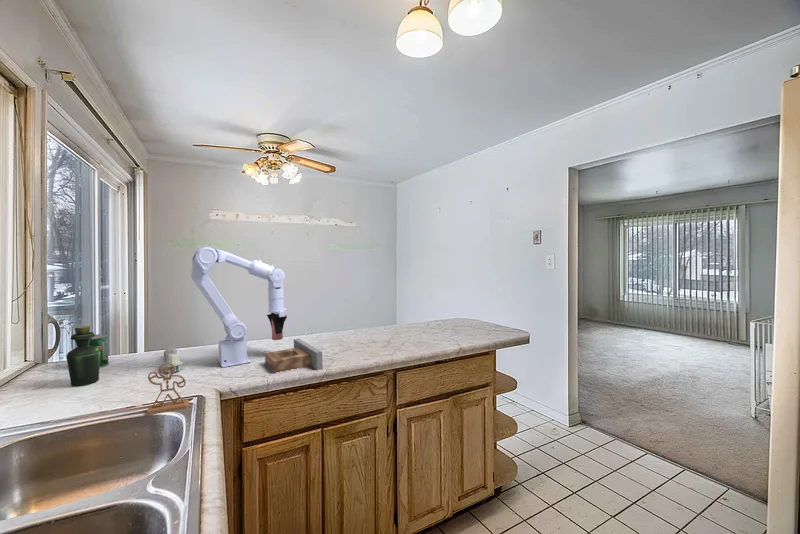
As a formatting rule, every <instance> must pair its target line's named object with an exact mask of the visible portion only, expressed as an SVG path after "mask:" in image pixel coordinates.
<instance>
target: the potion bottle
mask: <svg viewBox="0 0 800 534" xmlns="http://www.w3.org/2000/svg"><path fill="white" fill-rule="evenodd" d="M90 330H91V325H79V326H75V327H74V331H75V334H72V335H71V336H70V341H71V340H73V341H74V342H75V343H76V344H75V345H76V347H75V348H73V349H72V350H71V349H70V351H68V352H67V354H66V363H67V369H68V373H69V381H70V385H71V386H72V387H75V388H77V387H78V388H79V387H85V386H89V385H92V384H95V383H97V382H98V381H99V380H100V353H101V351H100V350H99V348H97V347H94V346H90V345H89V344H90V341H91V338H92V337H94V336H95V335H96V334H95V333H94V332H93V331H90Z"/></svg>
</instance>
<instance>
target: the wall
mask: <svg viewBox="0 0 800 534" xmlns="http://www.w3.org/2000/svg"><path fill="white" fill-rule="evenodd" d="M298 347H299V348H300V349H302V350H304V351H305V352H307V353H308V354H310V355H311V366H310V367H312V368H313V369H315V370H316V371H320V370H323V351H322V350H320V349H318V348H316V347H314V346H313V345H311V344H309V343H307V342H305V341H303V340H302V339H300V338H294V339H293V348H298Z"/></svg>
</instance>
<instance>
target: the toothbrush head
mask: <svg viewBox="0 0 800 534" xmlns="http://www.w3.org/2000/svg"><path fill="white" fill-rule="evenodd" d="M163 358H165V359H166V363H171V364H173V365H174V366H175V372H179V371H181V370H183V367H182V365H183V360H182V361H181V358H180V355H179V353H178V350H177V349H176V348H174V347H167V348H166V349H165V350H164V351H163ZM163 366H164V367H163V368H166V369H168V368H169V367H171V368H173V367H172V366H171V365H168V364H167V365H163ZM171 371H172V372H171ZM173 371H174V369H171V370H170V371H168V370H165V373H170V372H171V373H173ZM175 372H174V373H175ZM171 373H170V374H171Z"/></svg>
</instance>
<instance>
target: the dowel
mask: <svg viewBox="0 0 800 534" xmlns="http://www.w3.org/2000/svg"><path fill="white" fill-rule="evenodd" d="M271 321H272V328H271V340H273V341H279V340H283V337H284V335H283V334H284V333H283V331H284V329H283V330H282V334H276V332H275V327H274V323H273V320H272V319H271Z"/></svg>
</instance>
